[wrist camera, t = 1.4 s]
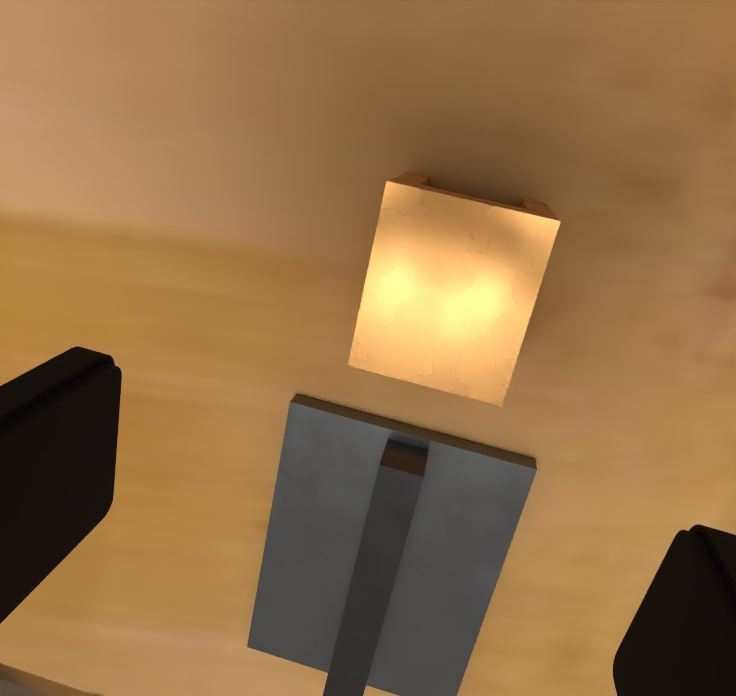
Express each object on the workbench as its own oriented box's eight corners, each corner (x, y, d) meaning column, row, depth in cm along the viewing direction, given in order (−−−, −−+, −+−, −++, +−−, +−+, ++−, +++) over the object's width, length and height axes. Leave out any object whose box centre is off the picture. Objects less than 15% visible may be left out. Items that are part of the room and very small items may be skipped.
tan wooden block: (406, 172, 26) (386, 180, 21) (546, 204, 25) (560, 221, 20) (373, 324, 28) (347, 365, 23) (499, 356, 28) (502, 406, 23)
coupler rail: (296, 393, 30) (273, 424, 27) (535, 458, 29) (541, 499, 26) (253, 633, 36) (230, 682, 33) (451, 696, 35) (448, 754, 31)
